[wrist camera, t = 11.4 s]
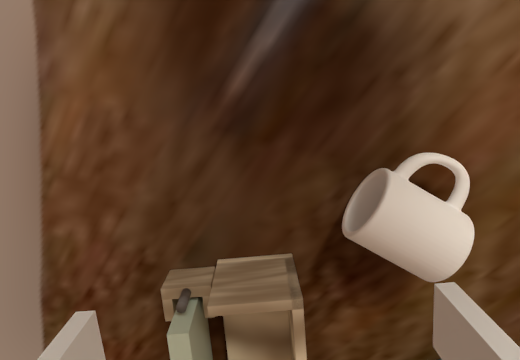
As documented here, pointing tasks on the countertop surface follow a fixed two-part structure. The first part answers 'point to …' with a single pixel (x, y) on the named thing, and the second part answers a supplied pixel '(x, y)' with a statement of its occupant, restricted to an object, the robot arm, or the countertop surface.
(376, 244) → the mug
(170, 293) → the carcass
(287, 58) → the countertop surface
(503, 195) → the countertop surface
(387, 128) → the countertop surface
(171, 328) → the door
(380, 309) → the countertop surface
